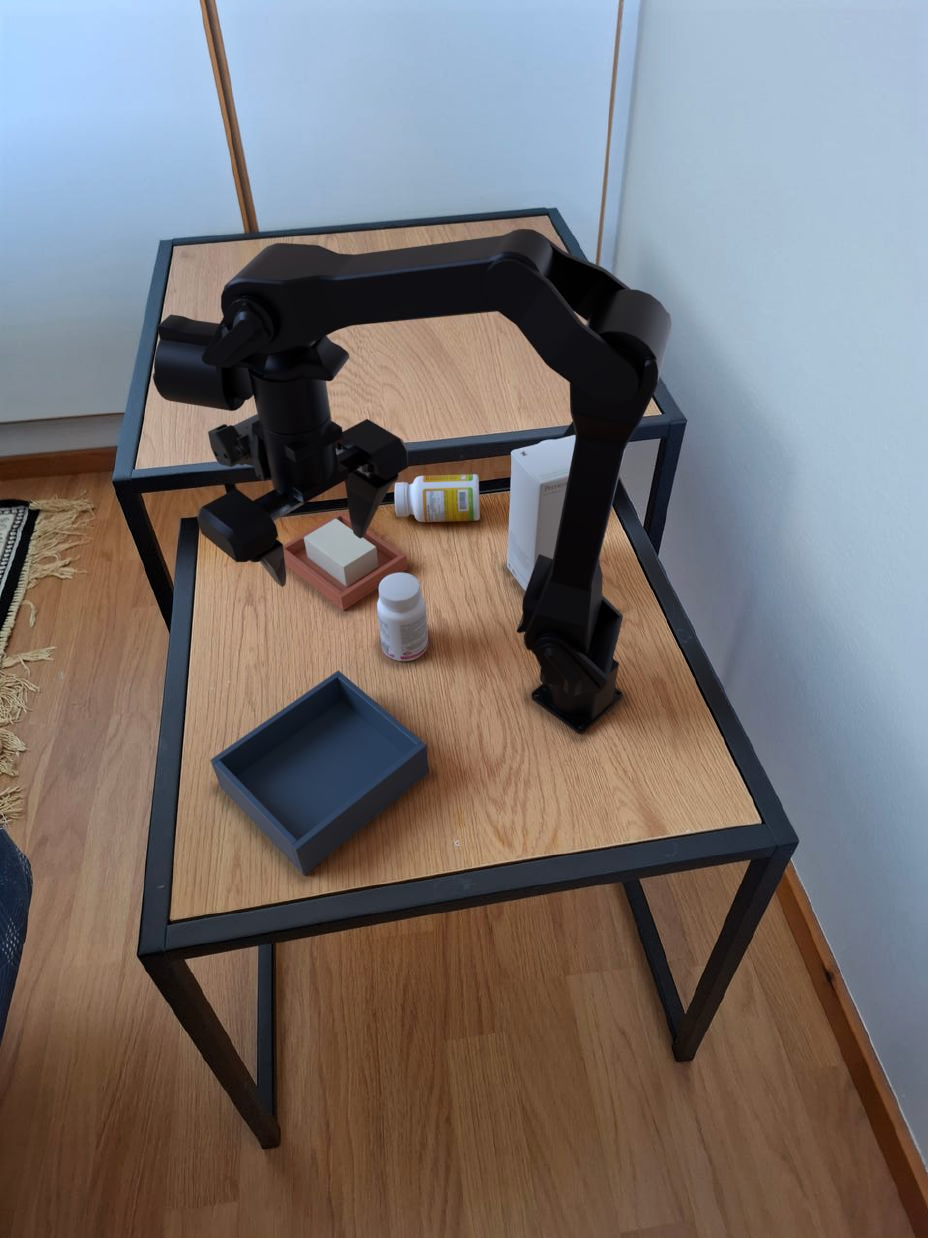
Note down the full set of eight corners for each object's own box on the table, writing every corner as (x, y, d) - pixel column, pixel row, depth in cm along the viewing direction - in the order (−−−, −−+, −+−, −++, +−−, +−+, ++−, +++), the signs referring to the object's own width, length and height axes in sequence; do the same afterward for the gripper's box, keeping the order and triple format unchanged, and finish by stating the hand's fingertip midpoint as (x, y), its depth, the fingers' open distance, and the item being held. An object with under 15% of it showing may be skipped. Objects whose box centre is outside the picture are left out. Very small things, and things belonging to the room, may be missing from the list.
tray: (407, 569, 98) (406, 555, 96) (343, 611, 93) (341, 597, 92) (343, 523, 103) (341, 510, 102) (280, 561, 99) (277, 548, 97)
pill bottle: (433, 632, 91) (430, 573, 85) (421, 666, 88) (417, 607, 82) (389, 625, 92) (382, 566, 86) (376, 658, 88) (368, 599, 82)
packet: (378, 567, 97) (376, 546, 95) (346, 587, 95) (343, 567, 93) (338, 538, 101) (335, 518, 99) (307, 557, 98) (303, 537, 96)
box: (429, 773, 79) (427, 744, 76) (304, 876, 72) (296, 850, 69) (343, 698, 85) (338, 669, 82) (220, 787, 78) (209, 759, 75)
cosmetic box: (530, 602, 94) (537, 486, 82) (503, 565, 98) (506, 449, 87) (598, 580, 96) (614, 463, 85) (569, 544, 100) (580, 428, 89)
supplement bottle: (479, 491, 105) (399, 493, 106) (478, 464, 101) (394, 466, 101) (480, 529, 103) (398, 531, 103) (479, 503, 98) (393, 506, 98)
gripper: (323, 337, 78) (343, 478, 90) (138, 422, 69) (186, 567, 81) (406, 383, 73) (416, 527, 84) (217, 482, 64) (257, 628, 75)
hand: (320, 559), depth 81 cm, fingers open, 9 cm apart
